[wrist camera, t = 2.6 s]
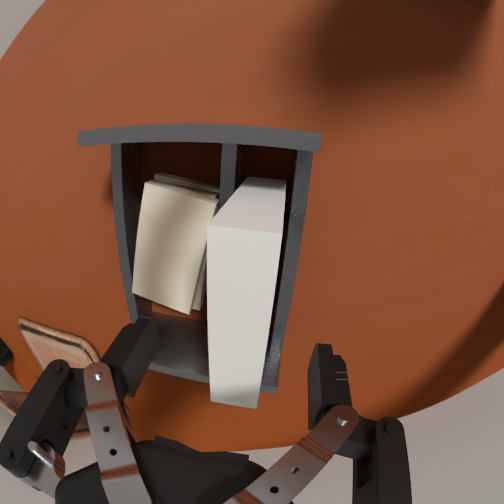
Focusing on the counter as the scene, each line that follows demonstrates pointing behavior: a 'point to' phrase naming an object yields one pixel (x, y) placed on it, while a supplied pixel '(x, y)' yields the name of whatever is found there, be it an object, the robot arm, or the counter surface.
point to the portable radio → (4, 353)
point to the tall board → (242, 287)
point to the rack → (233, 139)
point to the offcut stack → (174, 241)
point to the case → (46, 350)
